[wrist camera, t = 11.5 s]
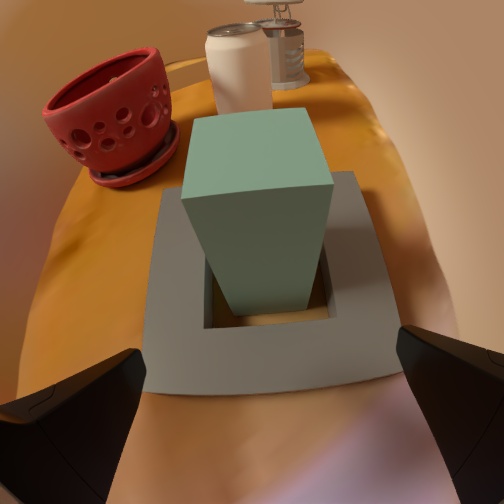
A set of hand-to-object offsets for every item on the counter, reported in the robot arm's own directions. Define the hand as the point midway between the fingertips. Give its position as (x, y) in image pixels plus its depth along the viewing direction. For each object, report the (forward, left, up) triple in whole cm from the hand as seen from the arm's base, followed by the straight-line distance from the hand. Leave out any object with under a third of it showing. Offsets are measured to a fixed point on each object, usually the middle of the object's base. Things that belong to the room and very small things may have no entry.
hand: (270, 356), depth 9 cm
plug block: (+7, -1, -9) cm, 12 cm away
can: (+28, -4, -10) cm, 30 cm away
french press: (+40, -12, -10) cm, 43 cm away
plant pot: (+26, +10, -10) cm, 29 cm away
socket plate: (+7, -1, -9) cm, 12 cm away
